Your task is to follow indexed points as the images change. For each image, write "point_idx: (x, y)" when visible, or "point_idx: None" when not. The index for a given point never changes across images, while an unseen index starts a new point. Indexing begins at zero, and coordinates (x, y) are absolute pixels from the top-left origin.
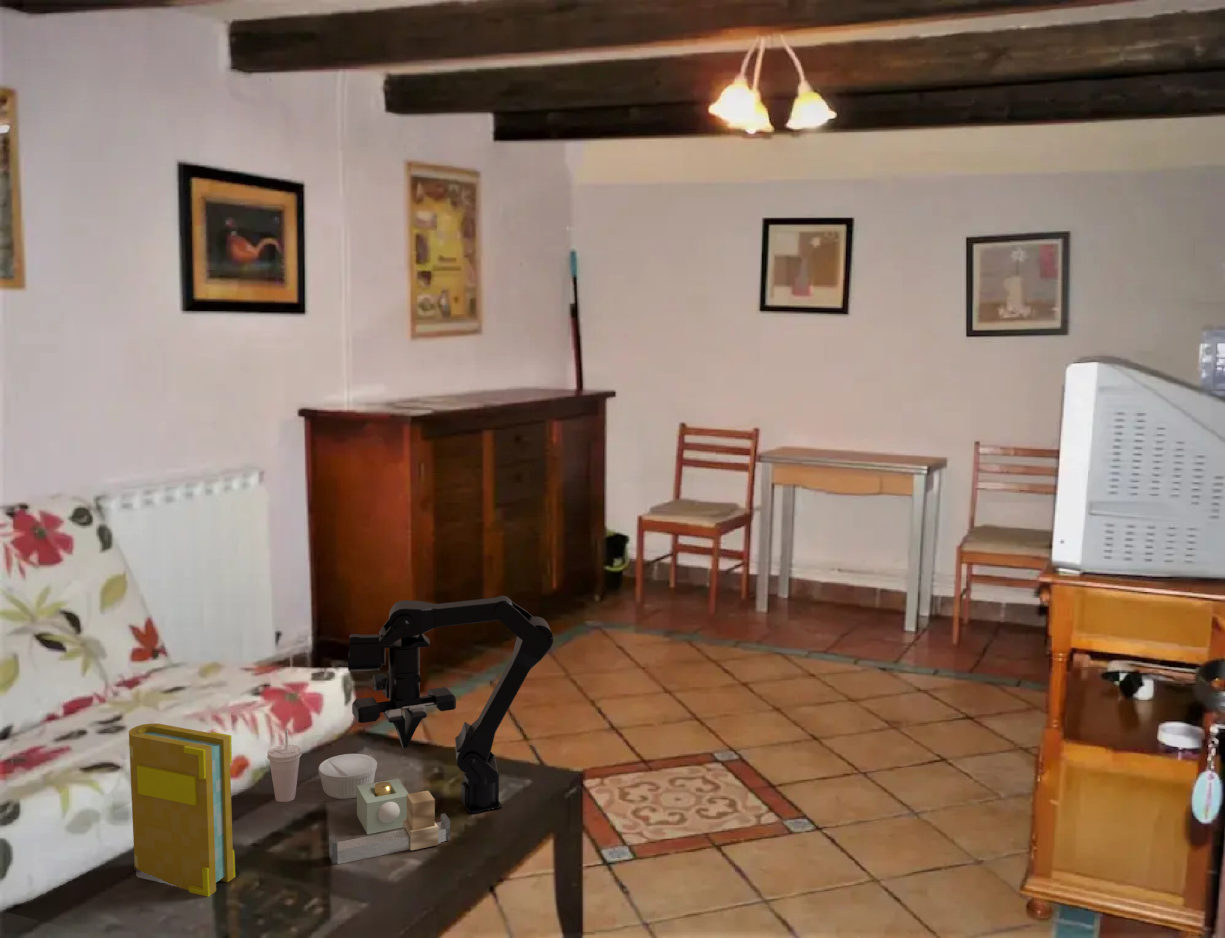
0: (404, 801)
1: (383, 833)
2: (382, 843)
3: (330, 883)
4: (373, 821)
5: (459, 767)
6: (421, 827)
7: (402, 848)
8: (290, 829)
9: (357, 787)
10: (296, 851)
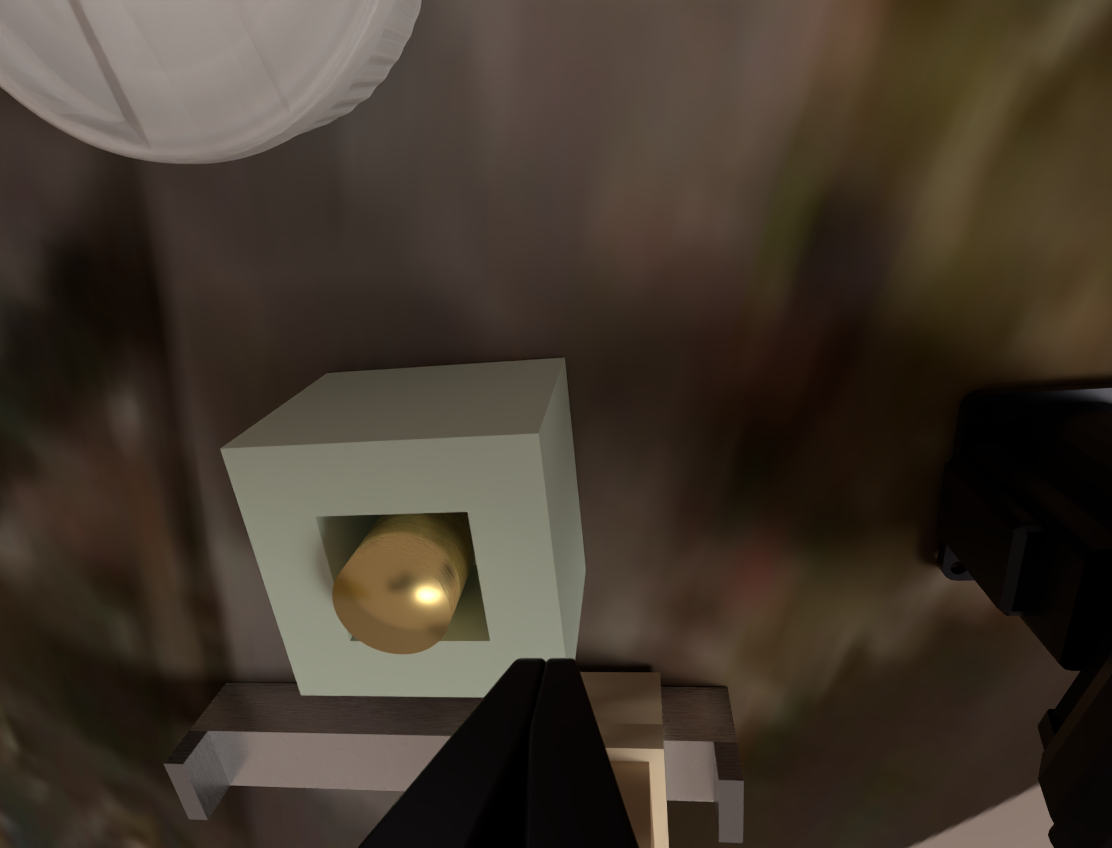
0: None
1: (422, 737)
2: None
3: (249, 820)
4: None
5: (1044, 774)
6: None
7: None
8: (13, 406)
9: (229, 469)
10: (90, 600)
